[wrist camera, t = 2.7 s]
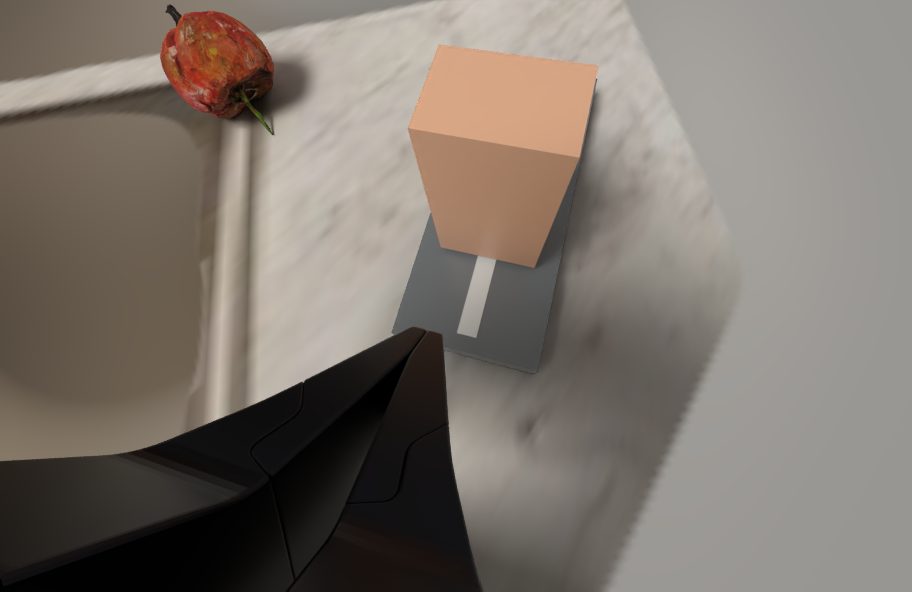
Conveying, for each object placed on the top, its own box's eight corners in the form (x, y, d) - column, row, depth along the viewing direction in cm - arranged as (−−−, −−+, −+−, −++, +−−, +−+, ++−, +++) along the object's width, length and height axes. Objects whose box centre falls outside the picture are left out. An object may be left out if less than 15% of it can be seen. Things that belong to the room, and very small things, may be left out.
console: (532, 374, 21) (537, 371, 19) (399, 338, 23) (390, 332, 21) (588, 101, 27) (597, 77, 25) (479, 85, 28) (479, 61, 26)
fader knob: (534, 267, 21) (579, 157, 11) (440, 247, 21) (407, 128, 12) (546, 211, 22) (598, 65, 12) (457, 193, 22) (439, 44, 13)
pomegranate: (317, 119, 31) (242, -1, 28) (294, 103, 25) (190, -59, 21) (250, 160, 32) (166, 46, 28) (208, 155, 25) (91, 4, 21)
